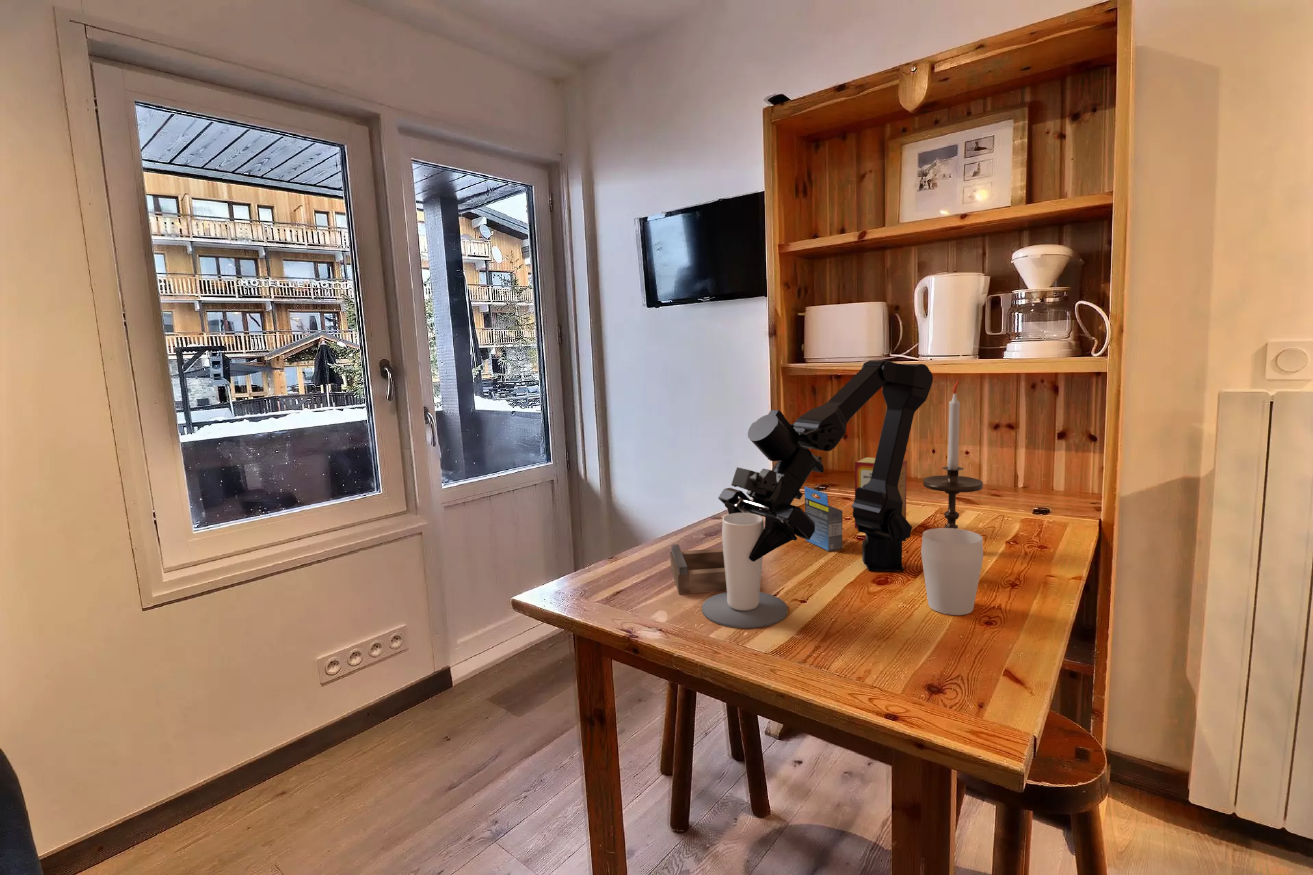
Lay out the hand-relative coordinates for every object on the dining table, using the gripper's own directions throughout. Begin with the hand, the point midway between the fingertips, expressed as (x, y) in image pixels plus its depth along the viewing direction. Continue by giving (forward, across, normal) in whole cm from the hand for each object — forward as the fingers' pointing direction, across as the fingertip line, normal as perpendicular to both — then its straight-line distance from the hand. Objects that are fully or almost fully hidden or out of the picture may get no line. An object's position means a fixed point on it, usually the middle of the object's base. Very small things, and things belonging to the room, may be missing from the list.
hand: (737, 554), depth 105 cm
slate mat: (+6, 0, +8) cm, 10 cm away
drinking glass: (+6, 0, +8) cm, 9 cm away
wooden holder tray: (+4, -15, +10) cm, 19 cm away
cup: (-13, +19, +27) cm, 36 cm away
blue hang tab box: (-18, -16, +33) cm, 41 cm away
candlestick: (-30, +2, +45) cm, 54 cm away
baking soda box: (-31, -17, +46) cm, 59 cm away
